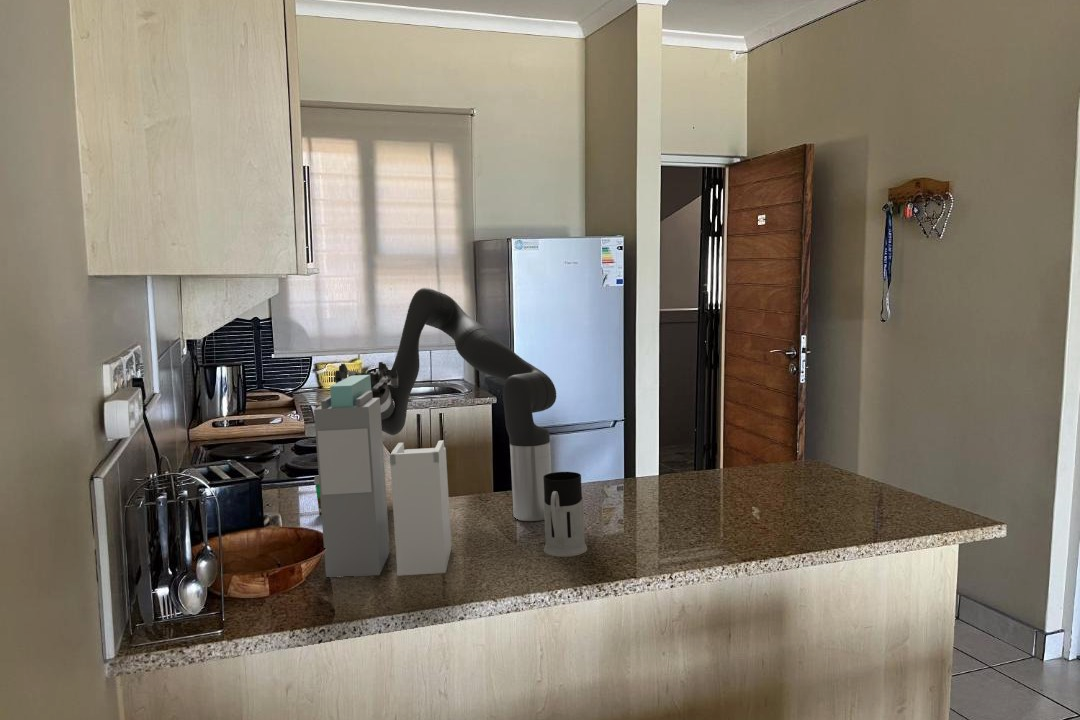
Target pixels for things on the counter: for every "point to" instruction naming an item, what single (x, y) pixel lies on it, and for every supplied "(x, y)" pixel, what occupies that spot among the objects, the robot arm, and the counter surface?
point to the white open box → (420, 509)
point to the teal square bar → (349, 390)
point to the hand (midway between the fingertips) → (361, 366)
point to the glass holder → (564, 514)
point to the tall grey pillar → (352, 487)
